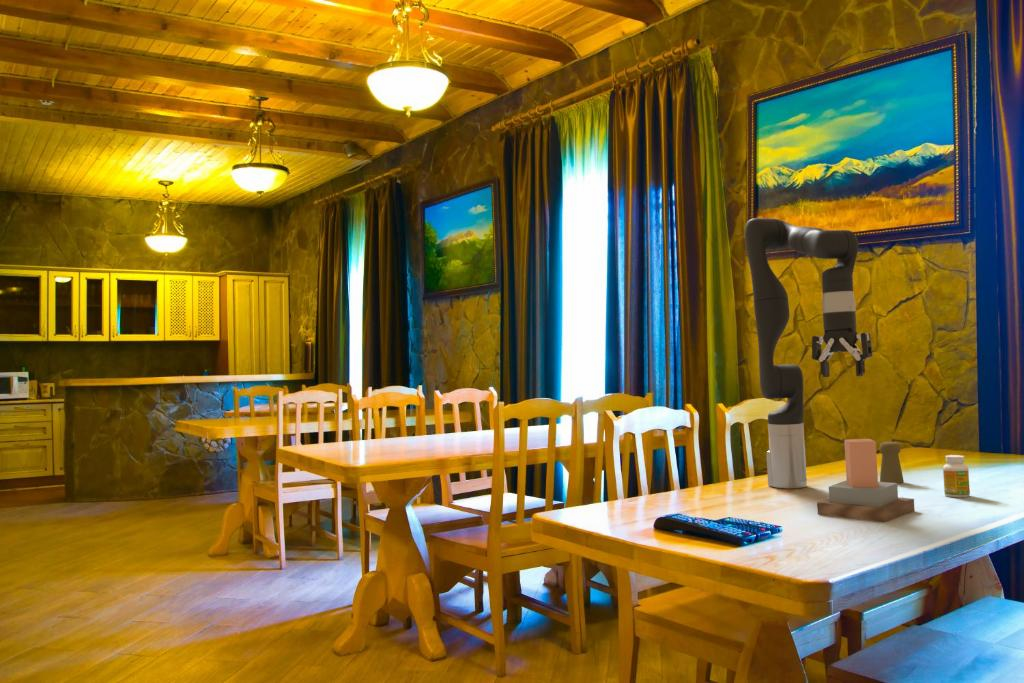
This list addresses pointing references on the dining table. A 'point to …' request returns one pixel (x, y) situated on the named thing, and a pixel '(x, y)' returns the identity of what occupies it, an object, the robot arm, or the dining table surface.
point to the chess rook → (890, 463)
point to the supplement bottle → (956, 477)
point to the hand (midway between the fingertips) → (842, 376)
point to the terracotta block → (861, 462)
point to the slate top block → (863, 494)
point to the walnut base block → (867, 510)
